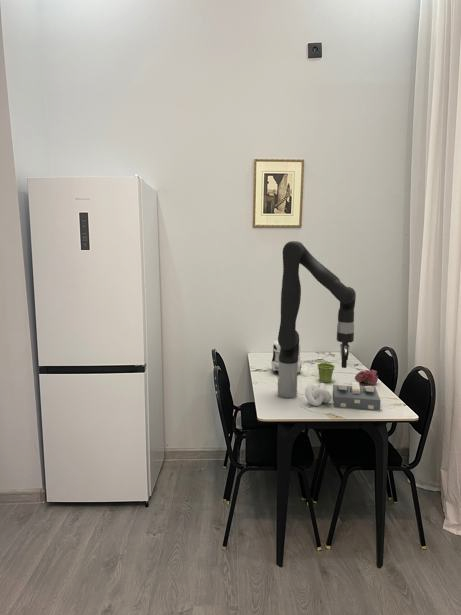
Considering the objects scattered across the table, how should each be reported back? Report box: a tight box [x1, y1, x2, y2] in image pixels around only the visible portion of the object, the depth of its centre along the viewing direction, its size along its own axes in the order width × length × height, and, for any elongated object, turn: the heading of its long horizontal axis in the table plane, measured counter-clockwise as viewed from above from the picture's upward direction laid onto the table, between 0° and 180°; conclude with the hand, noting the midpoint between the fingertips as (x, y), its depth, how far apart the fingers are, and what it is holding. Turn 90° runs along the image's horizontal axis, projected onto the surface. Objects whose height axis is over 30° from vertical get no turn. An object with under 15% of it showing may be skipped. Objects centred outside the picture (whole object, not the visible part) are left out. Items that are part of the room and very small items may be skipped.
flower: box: [354, 369, 379, 386], centre depth 213 cm, size 11×10×10 cm
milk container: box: [270, 339, 302, 374], centre depth 232 cm, size 17×17×18 cm
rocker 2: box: [350, 381, 360, 394], centre depth 189 cm, size 3×7×2 cm, turn 168°
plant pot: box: [316, 362, 336, 384], centre depth 218 cm, size 9×9×9 cm
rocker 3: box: [363, 385, 374, 392], centre depth 188 cm, size 3×7×2 cm, turn 168°
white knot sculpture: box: [304, 382, 332, 407], centre depth 188 cm, size 11×12×9 cm
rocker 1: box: [337, 384, 348, 390], centre depth 190 cm, size 3×7×2 cm, turn 168°
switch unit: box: [332, 384, 382, 411], centre depth 189 cm, size 20×16×7 cm
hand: (343, 367), depth 186 cm, fingers closed
